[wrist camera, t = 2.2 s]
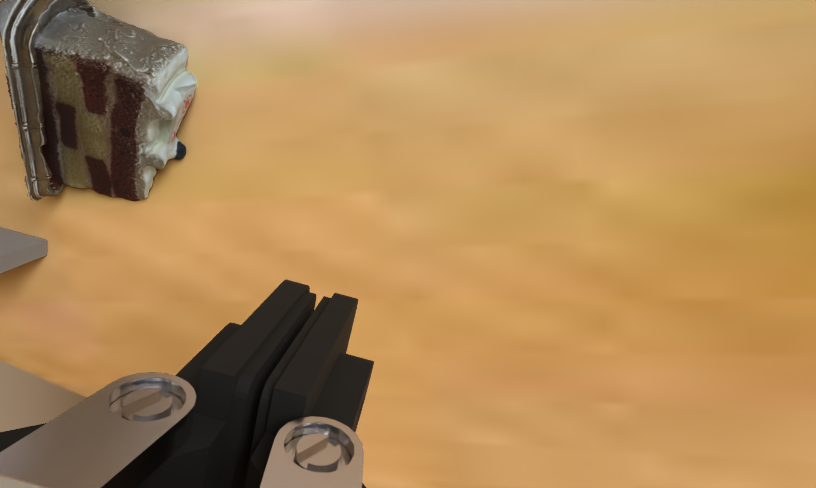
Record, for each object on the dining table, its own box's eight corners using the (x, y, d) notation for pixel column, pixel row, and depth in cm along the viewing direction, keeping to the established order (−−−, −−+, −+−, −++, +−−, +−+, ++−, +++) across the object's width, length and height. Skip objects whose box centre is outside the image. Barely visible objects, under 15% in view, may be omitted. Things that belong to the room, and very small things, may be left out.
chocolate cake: (166, 244, 31) (153, 140, 20) (34, 211, 29) (-55, 77, 18) (213, 118, 35) (221, -22, 24) (99, 81, 33) (56, -89, 22)
